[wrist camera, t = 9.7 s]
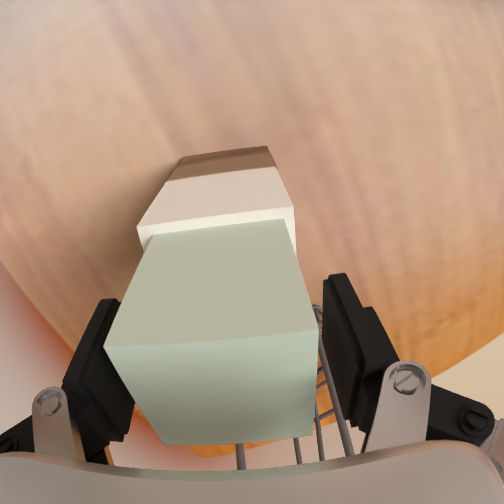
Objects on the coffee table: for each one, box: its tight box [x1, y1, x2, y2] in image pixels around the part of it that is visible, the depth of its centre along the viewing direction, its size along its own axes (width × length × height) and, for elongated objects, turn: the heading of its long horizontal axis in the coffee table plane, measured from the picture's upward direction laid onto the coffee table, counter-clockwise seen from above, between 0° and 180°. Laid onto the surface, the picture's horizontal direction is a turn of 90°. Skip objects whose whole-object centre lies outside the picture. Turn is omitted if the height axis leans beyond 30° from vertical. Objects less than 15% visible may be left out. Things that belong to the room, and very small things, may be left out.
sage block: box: [103, 218, 319, 445], centre depth 11 cm, size 5×5×6 cm
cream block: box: [137, 167, 296, 254], centre depth 16 cm, size 6×6×6 cm
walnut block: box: [167, 146, 277, 181], centre depth 21 cm, size 6×6×6 cm
